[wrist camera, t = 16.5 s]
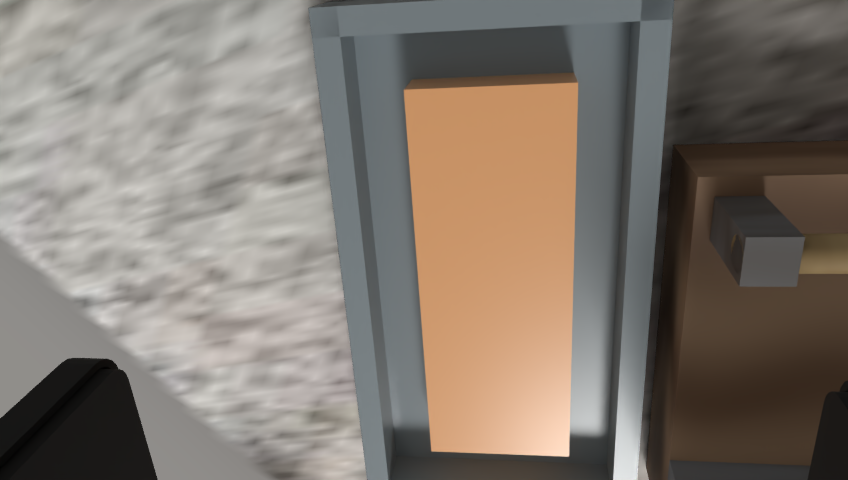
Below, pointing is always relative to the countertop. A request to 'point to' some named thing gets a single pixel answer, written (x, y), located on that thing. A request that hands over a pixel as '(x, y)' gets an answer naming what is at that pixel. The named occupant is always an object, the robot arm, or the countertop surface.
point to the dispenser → (750, 309)
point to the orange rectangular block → (495, 257)
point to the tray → (594, 209)
